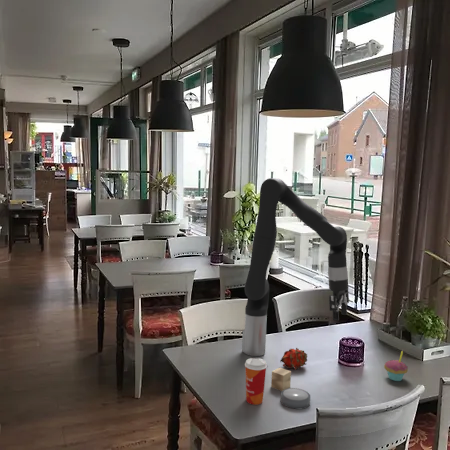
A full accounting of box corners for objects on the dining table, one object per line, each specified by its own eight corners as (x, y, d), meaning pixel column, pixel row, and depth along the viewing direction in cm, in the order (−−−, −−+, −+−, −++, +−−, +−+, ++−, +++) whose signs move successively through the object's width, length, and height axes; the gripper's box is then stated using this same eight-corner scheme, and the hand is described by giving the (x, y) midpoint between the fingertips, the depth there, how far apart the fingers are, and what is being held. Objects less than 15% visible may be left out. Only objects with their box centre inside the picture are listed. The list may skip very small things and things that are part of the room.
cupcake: (406, 376, 192) (409, 346, 191) (407, 385, 184) (409, 354, 183) (383, 372, 195) (385, 343, 194) (383, 381, 187) (385, 350, 186)
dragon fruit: (309, 370, 198) (282, 377, 195) (301, 352, 204) (274, 359, 201) (313, 359, 193) (285, 366, 189) (305, 341, 198) (277, 347, 195)
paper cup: (241, 395, 172) (243, 357, 170) (263, 395, 172) (265, 357, 171) (244, 406, 164) (246, 366, 162) (267, 406, 165) (269, 366, 163)
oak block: (271, 387, 179) (271, 371, 178) (278, 382, 183) (279, 367, 182) (282, 391, 176) (283, 375, 175) (290, 387, 180) (291, 371, 179)
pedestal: (274, 401, 168) (275, 394, 168) (290, 392, 176) (291, 384, 175) (300, 411, 162) (300, 404, 161) (315, 401, 169) (315, 393, 169)
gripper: (336, 273, 202) (338, 312, 203) (321, 280, 190) (324, 321, 192) (353, 274, 198) (355, 313, 199) (340, 281, 186) (342, 323, 187)
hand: (340, 317), depth 195 cm, fingers open, 8 cm apart
